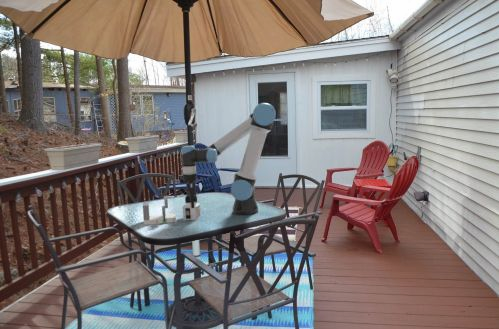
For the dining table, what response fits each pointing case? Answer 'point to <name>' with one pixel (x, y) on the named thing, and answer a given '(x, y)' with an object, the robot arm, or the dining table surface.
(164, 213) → the gauge plate
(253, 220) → the dining table surface
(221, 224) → the dining table surface
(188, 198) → the container
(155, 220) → the gauge base
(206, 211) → the dining table surface
